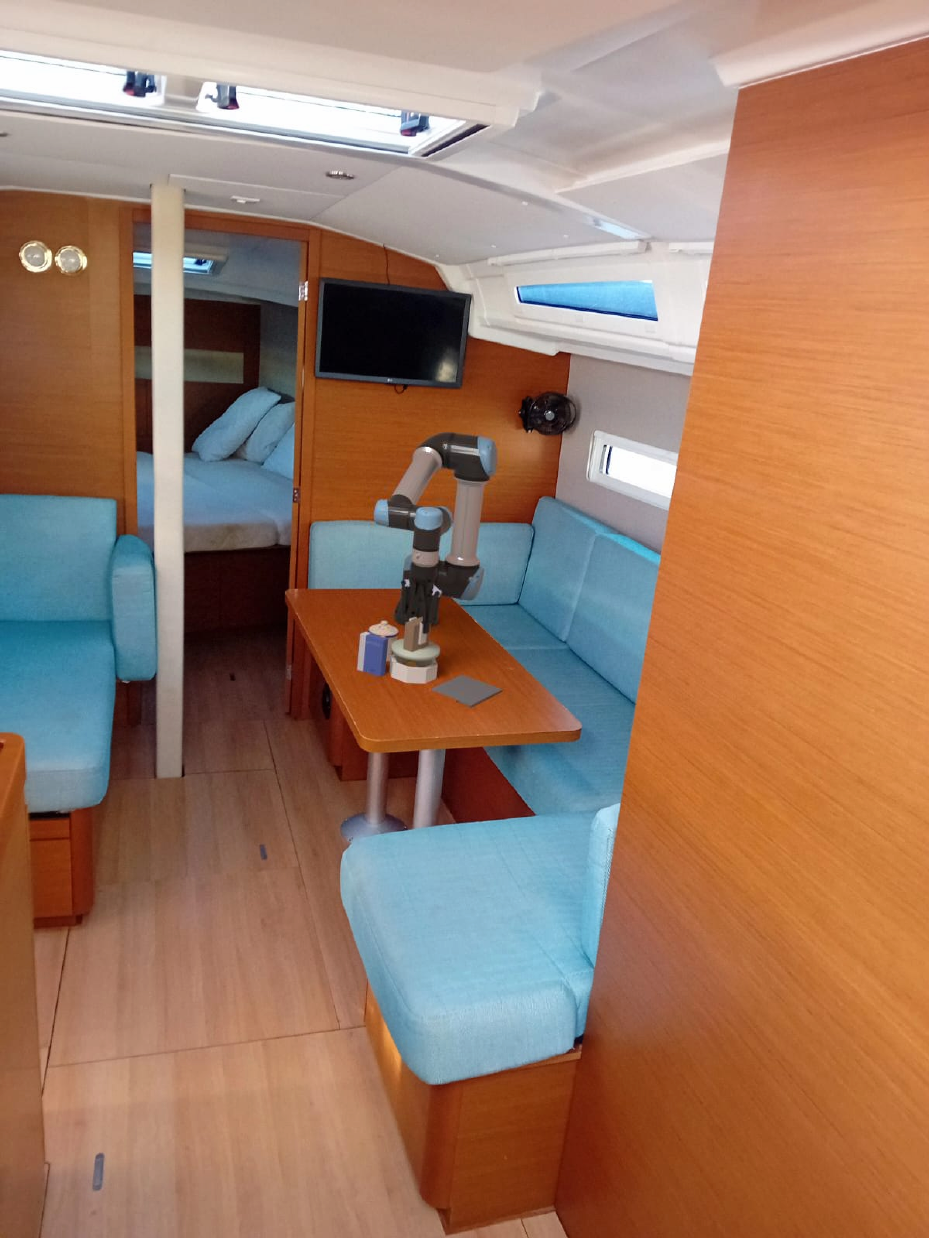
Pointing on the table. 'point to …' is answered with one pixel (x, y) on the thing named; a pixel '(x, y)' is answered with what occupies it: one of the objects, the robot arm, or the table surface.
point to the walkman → (372, 653)
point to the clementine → (411, 664)
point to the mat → (467, 690)
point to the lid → (415, 644)
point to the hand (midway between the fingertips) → (416, 641)
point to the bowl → (413, 670)
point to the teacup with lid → (385, 634)
